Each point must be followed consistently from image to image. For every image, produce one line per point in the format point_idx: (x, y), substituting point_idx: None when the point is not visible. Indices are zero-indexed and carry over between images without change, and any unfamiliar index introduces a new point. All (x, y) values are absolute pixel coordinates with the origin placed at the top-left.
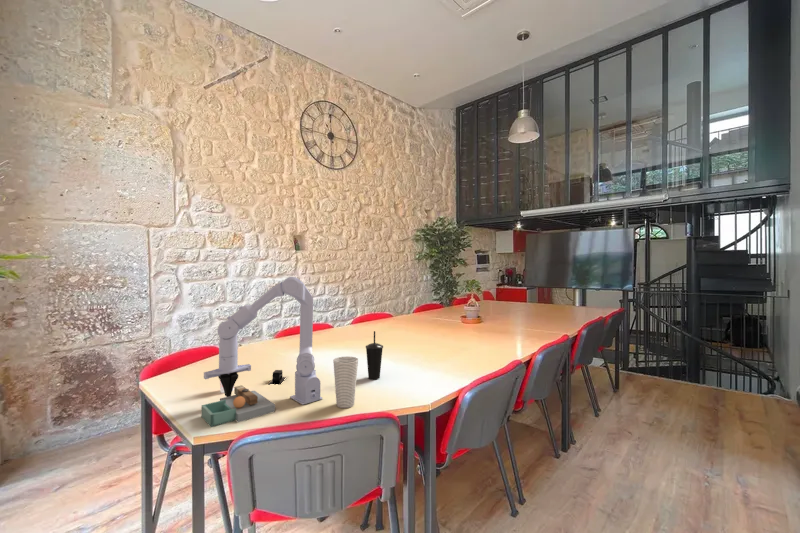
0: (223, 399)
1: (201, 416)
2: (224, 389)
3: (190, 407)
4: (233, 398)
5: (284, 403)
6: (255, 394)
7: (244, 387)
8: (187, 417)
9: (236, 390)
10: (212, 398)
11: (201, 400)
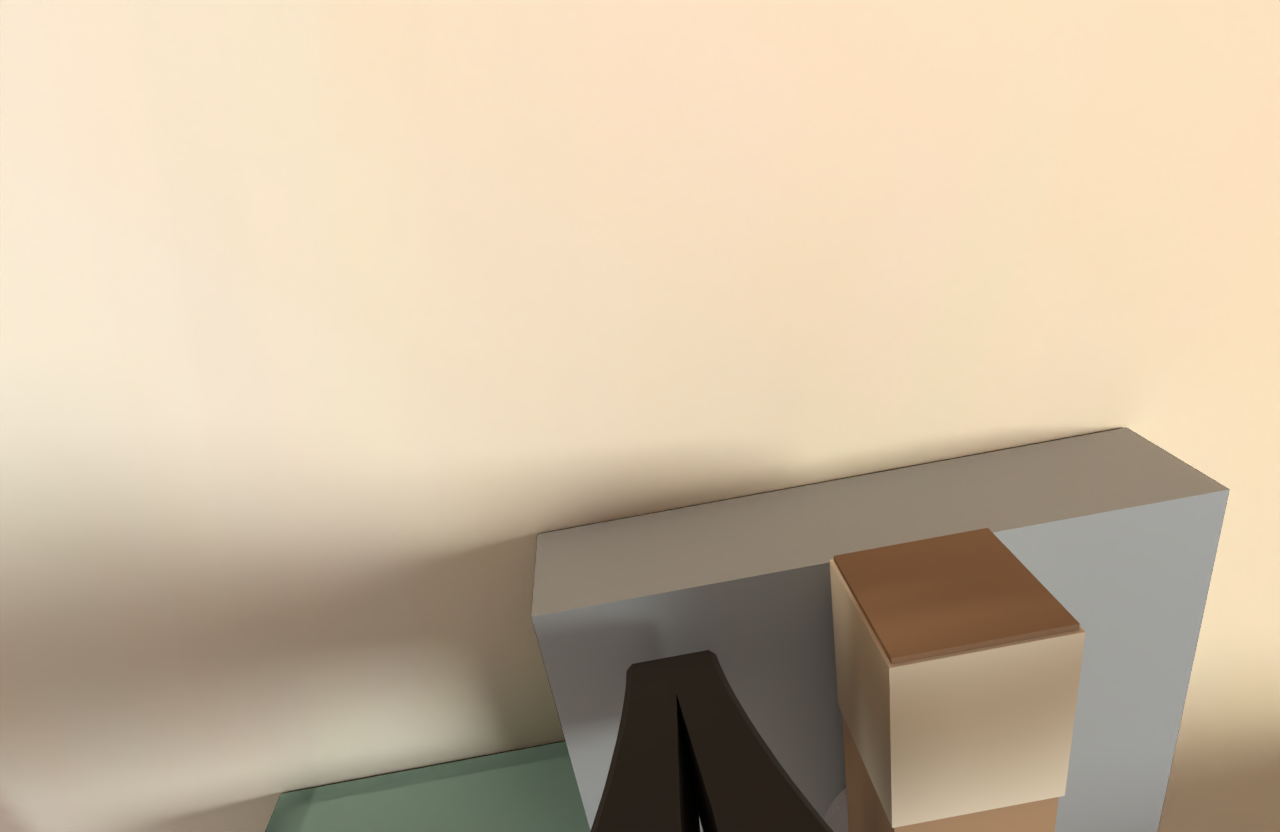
0: (587, 693)
1: (282, 798)
2: (624, 780)
3: (5, 356)
4: (753, 723)
5: (1260, 825)
6: (1120, 702)
7: (1054, 793)
8: (84, 747)
9: (871, 738)
10: (411, 7)
11: (155, 2)
